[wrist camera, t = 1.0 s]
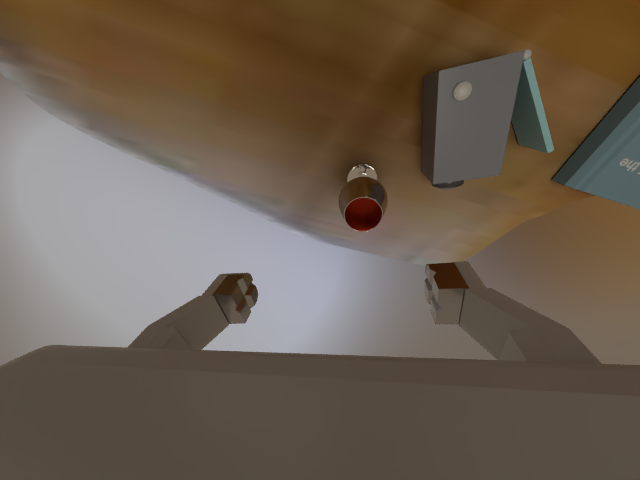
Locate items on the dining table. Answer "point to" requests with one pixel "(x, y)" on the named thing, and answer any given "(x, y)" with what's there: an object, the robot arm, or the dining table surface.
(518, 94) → the side door
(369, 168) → the wineglass
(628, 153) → the book
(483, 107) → the housing
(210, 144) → the dining table surface
